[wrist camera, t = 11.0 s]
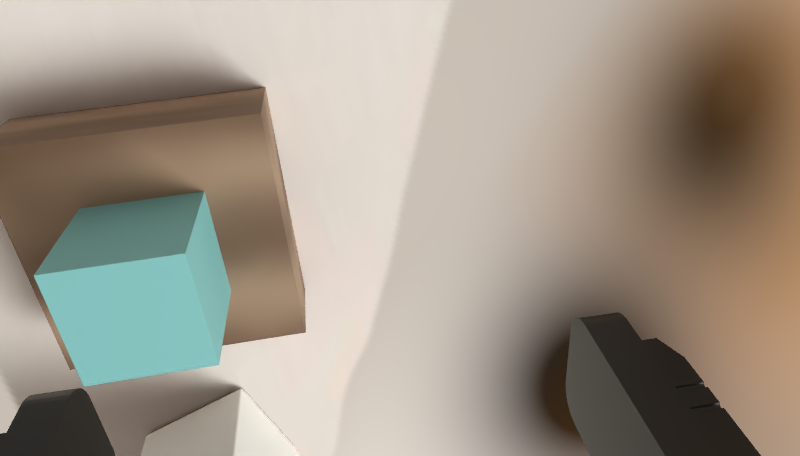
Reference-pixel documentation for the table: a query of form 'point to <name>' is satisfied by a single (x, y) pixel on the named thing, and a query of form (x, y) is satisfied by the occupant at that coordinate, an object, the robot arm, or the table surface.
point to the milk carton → (221, 432)
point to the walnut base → (164, 191)
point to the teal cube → (138, 288)
